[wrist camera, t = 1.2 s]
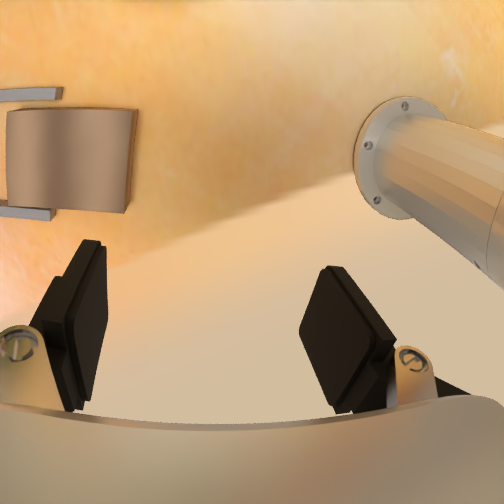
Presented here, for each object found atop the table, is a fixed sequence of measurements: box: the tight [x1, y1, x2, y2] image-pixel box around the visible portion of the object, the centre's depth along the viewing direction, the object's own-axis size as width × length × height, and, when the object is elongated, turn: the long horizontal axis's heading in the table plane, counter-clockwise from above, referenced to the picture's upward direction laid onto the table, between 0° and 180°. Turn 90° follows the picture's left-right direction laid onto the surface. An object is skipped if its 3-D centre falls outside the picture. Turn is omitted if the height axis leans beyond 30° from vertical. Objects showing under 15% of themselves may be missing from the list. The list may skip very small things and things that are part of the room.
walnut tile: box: [6, 107, 138, 214], centre depth 22 cm, size 11×8×3 cm
